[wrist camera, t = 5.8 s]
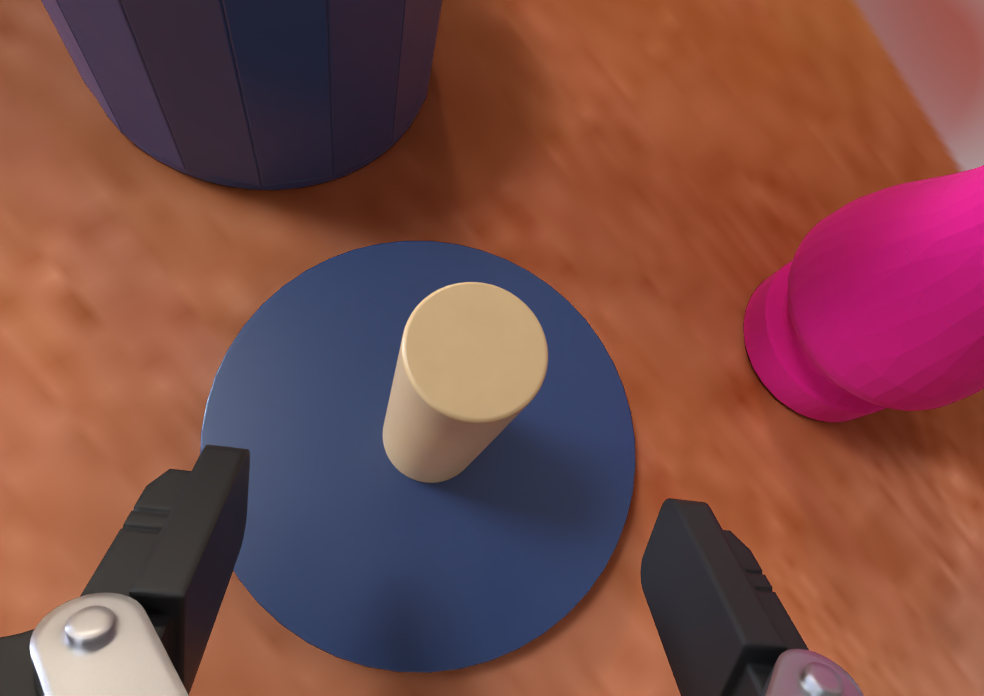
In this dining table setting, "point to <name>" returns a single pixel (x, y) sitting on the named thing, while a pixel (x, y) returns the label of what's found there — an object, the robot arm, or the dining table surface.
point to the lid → (423, 455)
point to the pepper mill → (878, 305)
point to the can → (255, 81)
